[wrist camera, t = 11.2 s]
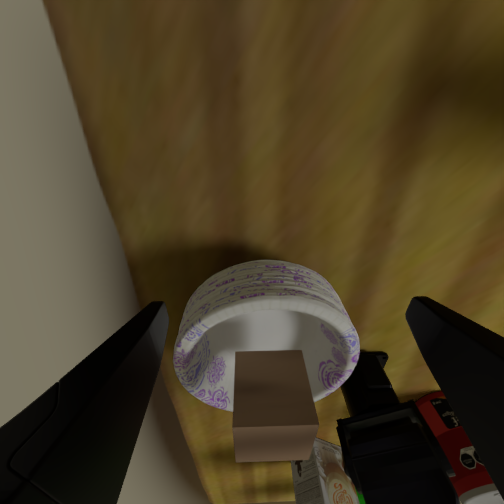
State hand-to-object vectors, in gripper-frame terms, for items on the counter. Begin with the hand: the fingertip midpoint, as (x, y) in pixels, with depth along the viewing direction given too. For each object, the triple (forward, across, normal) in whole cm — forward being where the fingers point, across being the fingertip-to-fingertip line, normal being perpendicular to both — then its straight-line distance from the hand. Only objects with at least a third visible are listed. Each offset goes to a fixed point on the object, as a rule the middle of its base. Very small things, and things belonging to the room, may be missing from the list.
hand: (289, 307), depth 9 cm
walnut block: (+5, 0, +12) cm, 13 cm away
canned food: (+13, -28, +34) cm, 46 cm away
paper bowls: (+13, 0, +12) cm, 18 cm away
